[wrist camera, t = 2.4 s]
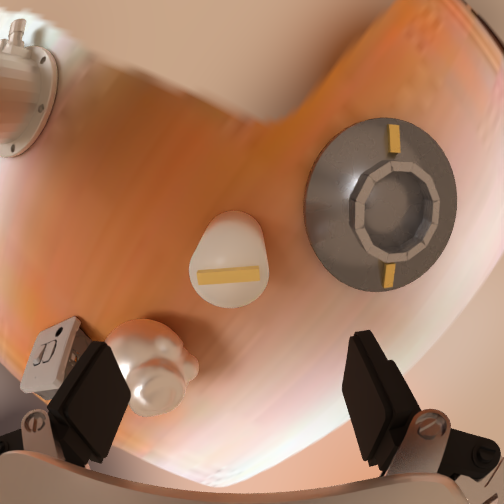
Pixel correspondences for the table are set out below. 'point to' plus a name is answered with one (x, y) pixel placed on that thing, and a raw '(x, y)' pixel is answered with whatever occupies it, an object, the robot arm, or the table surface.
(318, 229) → the socket
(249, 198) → the table surface
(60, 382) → the electrical switch
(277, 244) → the table surface
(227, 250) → the white rounded cylinder
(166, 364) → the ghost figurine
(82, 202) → the table surface
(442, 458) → the robot arm
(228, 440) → the table surface
